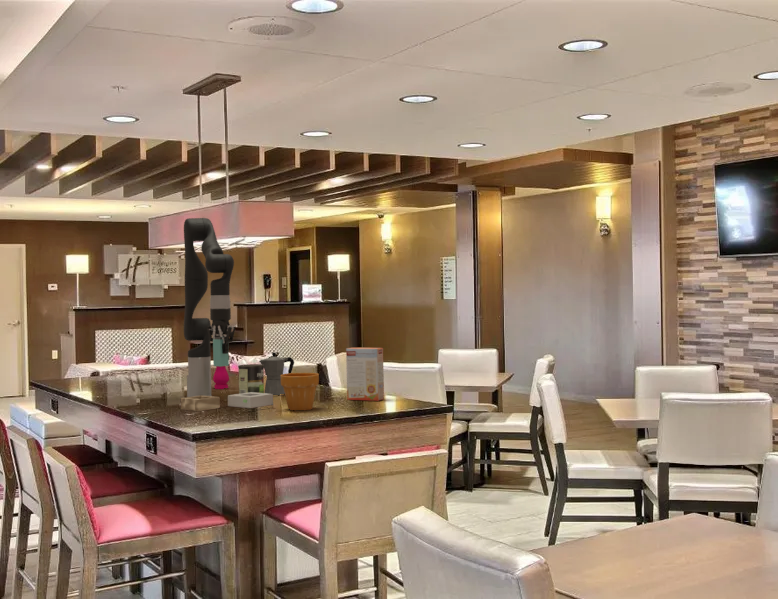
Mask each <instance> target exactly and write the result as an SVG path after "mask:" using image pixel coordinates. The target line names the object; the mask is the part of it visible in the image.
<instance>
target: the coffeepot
mask: <svg viewBox="0 0 778 599" xmlns="http://www.w3.org/2000/svg"><path fill="white" fill-rule="evenodd" d="M276 354H277V353H276V352H274V351H273V352H272V356H270V357H267V358H264V359H260V360H258V362H259V363H260V364H262V365H264V367H263V368H264V372H265V376H266V380H265V384H264V393H267V394H273V395H280V394H285V392H284V388H283V386H282V385H281V375H282V374H284V367H285V363H288V362H289V367H288V370H287V373H293V372H292V371H293V368H294V365H295V360H294V359H293V358H292V357H291V356H288V357H279V356H276Z"/></svg>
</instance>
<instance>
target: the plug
mask: <svg viewBox="0 0 778 599" xmlns="http://www.w3.org/2000/svg"><path fill="white" fill-rule="evenodd" d="M225 340H226V338H225ZM222 344H223V343H222V338H221V337H215V339H213V342H212V352H213V353H212V355H213V356H212V357H213V367H216V366H226V367H229V366H230V365H229V364H230V359H229V357H230V355H229V353H230V352H229V345H228V353H227V354H223V353H222Z"/></svg>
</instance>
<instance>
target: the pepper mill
mask: <svg viewBox="0 0 778 599" xmlns="http://www.w3.org/2000/svg"><path fill="white" fill-rule="evenodd" d="M226 367H227V366H215V370H214V373H213V377H212V381H213V382H214V385H213V389H214V388H215V389H214V390H225V389H224V388H228V389H229V384H228V383H229V381H230V376H229V373H228V371H227V368H226Z"/></svg>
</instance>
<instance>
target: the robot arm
mask: <svg viewBox="0 0 778 599" xmlns="http://www.w3.org/2000/svg"><path fill="white" fill-rule="evenodd" d="M183 240H184V241H183V242H184V243H183V244H184V318H183V336H184V339H185V340H186V341H191V342H193V341H202V342H201V343H200V344H199V345H197V346H196V347H194V348H191V349H189V350H188V351H187V367H188V368H187V370H188V371H187V372H188V374H187V375H186V397H193V396H201V395H203V396H212V362H211V361H212V358H211V357H212V355H211V342H212V343H213V339H215V337H221V338H222V343H223V344H222V353H223V354H227V353H228V346H229V344H230V343H231V342H233V340H234V335H235V331H236V326H231V325H230V324H231V323H230V320H231V319H232V314H231V311H232V310H231V297H230V295H231V294H230V284H231V283H230V282H231V278H232V274H233V270H234V266H235V261H234V260H235V259H234V258H233V256H232V255H231V254H229V253H224V251H223V249H222V247H221V245H220V244H219V242H218V239H217V234H216V232H215V228H214V225H213V223H212V221H211V220H210V219H209V218H206V217H196V218H195V217H194V218H193V217H191V218H185V220H184V222H183ZM194 242H201V252H202V255H203V256H204V258H205V260H204V261H205V265H204V263H203V262H202V261H201V259H200V258H199V256H198V254H197V252H196V250H195V246H194ZM208 272H209V273H210V274H211V273H212V274H222V276H221V277H220V278H216V279H213V280H211V281H210V284H209V285H210V299H209V300H210V301H209V308H210V309H209V311H210V313H209V314H210V316H209V317H210V318H207V317H194V318H193V315H194V313H195V310H196V308H197V306H198V304H199V303H200V301H201V300H202V299H203V297H204V295H206V292H207V291H208V283H209V280H208V278H209V277H208V276H209V274H208ZM211 321H212V323H211ZM225 338H226V340H225Z"/></svg>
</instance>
